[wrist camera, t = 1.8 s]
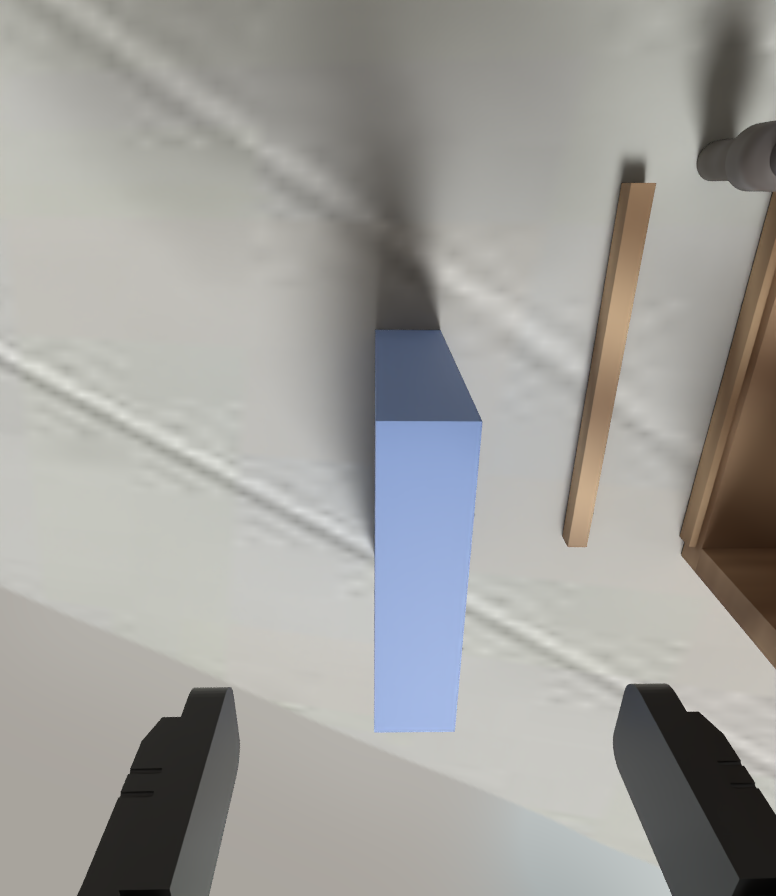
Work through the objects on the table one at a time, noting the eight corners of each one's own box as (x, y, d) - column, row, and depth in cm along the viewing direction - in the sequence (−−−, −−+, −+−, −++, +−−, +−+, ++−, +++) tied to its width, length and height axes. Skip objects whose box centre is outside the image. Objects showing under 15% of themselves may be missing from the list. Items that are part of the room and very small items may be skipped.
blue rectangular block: (375, 329, 21) (375, 421, 13) (440, 330, 21) (482, 421, 13) (374, 554, 25) (374, 732, 17) (428, 554, 25) (454, 731, 17)
